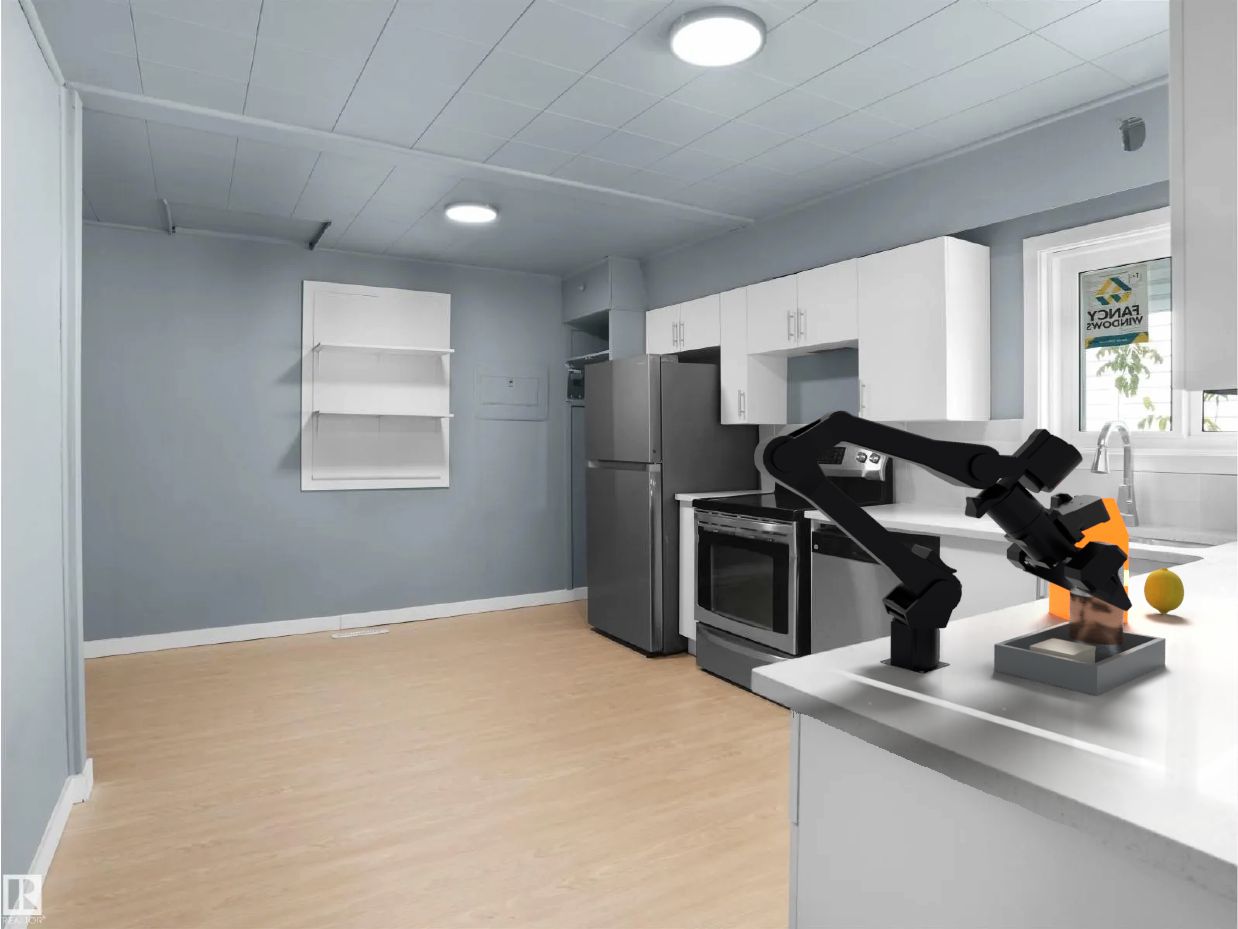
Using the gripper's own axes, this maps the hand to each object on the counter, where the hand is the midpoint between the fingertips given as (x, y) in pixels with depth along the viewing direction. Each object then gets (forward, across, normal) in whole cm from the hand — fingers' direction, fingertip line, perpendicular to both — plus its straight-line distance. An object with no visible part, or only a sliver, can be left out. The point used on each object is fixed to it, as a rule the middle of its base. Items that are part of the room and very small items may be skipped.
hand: (1105, 600), depth 101 cm
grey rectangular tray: (+3, -3, +10) cm, 10 cm away
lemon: (+26, +29, -14) cm, 41 cm away
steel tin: (+5, 0, +7) cm, 8 cm away
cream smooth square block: (-1, -6, +12) cm, 13 cm away
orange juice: (+16, +27, -4) cm, 32 cm away
